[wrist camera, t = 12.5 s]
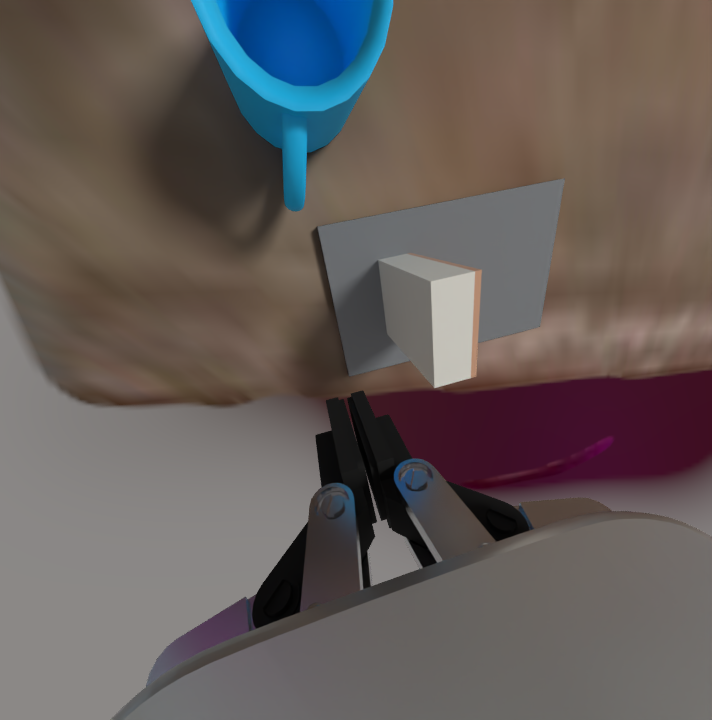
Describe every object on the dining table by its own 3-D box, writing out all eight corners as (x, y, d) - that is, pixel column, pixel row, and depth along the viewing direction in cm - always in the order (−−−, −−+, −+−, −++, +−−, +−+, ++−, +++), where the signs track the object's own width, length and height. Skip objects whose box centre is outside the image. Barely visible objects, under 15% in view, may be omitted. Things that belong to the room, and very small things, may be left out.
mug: (215, -41, 15) (147, -283, 8) (359, 2, 17) (409, -162, 10) (237, 207, 20) (207, 197, 13) (345, 218, 22) (371, 216, 15)
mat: (316, 226, 22) (317, 226, 21) (558, 179, 24) (564, 178, 24) (348, 373, 28) (349, 376, 28) (535, 325, 31) (539, 326, 30)
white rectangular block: (378, 259, 23) (430, 281, 15) (410, 252, 24) (481, 269, 15) (387, 334, 27) (434, 387, 18) (415, 326, 27) (476, 376, 18)
